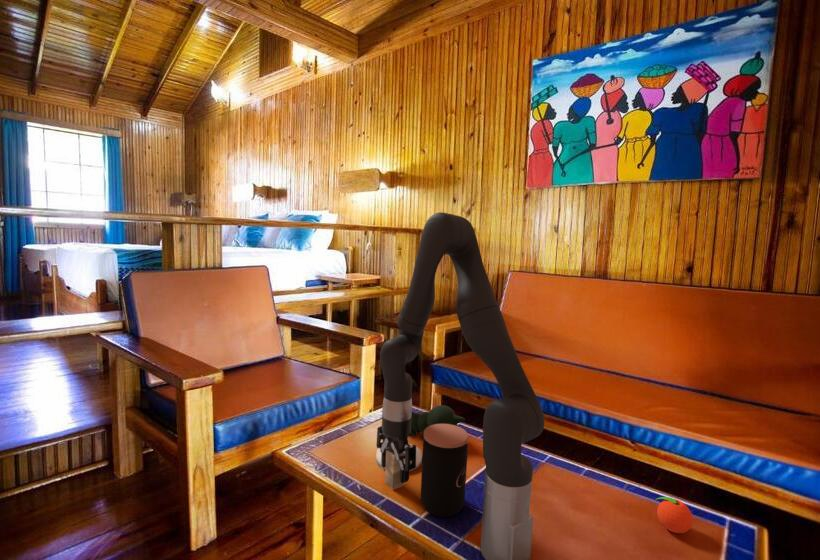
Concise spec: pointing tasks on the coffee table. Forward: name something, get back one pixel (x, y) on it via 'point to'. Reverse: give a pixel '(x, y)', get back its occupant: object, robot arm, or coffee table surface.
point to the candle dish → (418, 459)
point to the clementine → (674, 515)
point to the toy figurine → (433, 418)
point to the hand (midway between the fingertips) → (394, 473)
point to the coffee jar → (444, 469)
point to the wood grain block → (392, 470)
